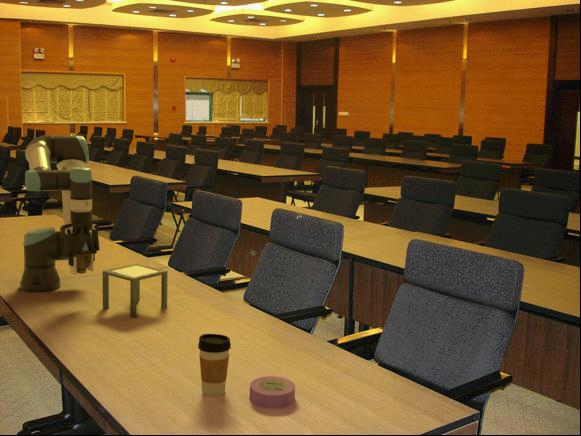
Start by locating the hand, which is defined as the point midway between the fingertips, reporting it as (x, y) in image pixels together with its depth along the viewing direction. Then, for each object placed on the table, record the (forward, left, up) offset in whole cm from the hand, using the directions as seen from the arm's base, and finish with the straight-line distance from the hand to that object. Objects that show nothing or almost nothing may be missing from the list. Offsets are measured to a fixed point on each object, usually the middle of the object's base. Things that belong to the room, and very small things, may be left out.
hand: (81, 272), depth 248 cm
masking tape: (+103, -20, -12) cm, 106 cm away
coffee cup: (+89, -27, -12) cm, 94 cm away
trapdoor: (+19, +9, +1) cm, 21 cm away
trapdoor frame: (+19, +9, -12) cm, 24 cm away
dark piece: (0, 0, 0) cm, 0 cm away
